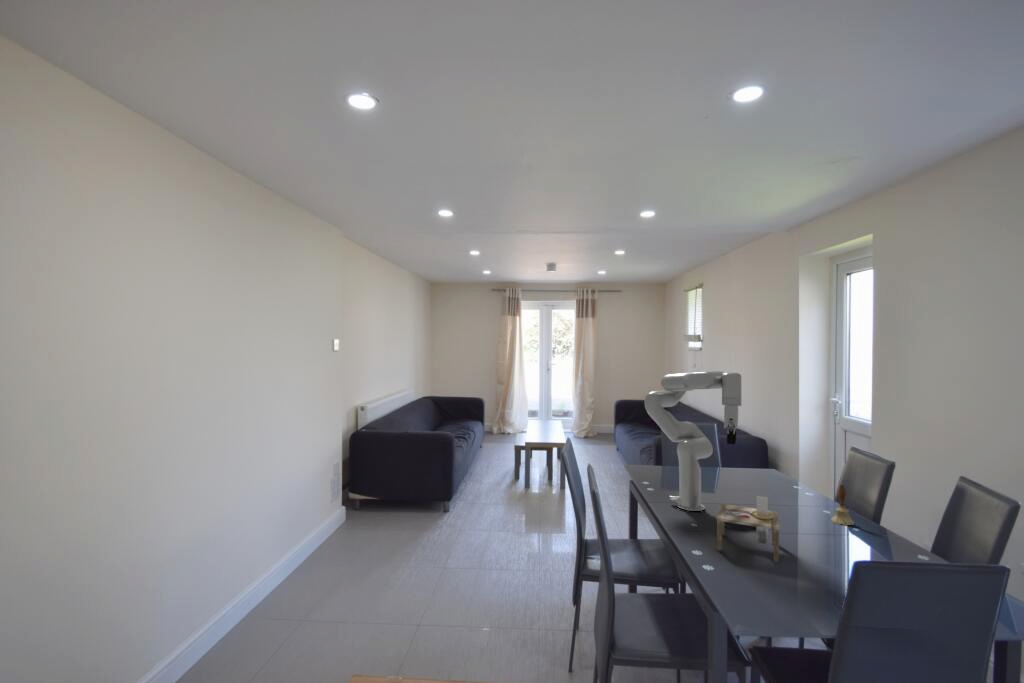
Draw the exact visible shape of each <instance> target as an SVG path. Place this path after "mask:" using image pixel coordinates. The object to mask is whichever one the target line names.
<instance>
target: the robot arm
mask: <svg viewBox="0 0 1024 683" xmlns="http://www.w3.org/2000/svg"><path fill="white" fill-rule="evenodd" d="M660 386H661V387H662V389H664V390H654V391H650V392H648V393H647V394H646V395H645V397H644V402H643V403H644V408H645V411H646V412H647V414H648V416H649V417H650V418H651V419H652V420H653V421H654V422H655V423H656V424H657V426H658V427H659V428H660V429H661V431H662V432H663V433H664V434H665V435H666V437H667V438H668V439H669V440H670V442H672V443H678V444H677V446H676V454H677V457H678V458H677V459H678V476H679V482H678V483H679V484H678V486H679V490H678V491H679V492H678V493H679V495H676V496H674V495H669V500H670V501H671V502H676V503H678V505H680V507H681V508H682V507H683V509H686V510H691V511H701V512H703V511H702V510H704V509H706V507H705V505H704V504H702V469H701V466H700V463H699V460H702V459H707V458H709V457H711V456H712V455H713V452H714V448H713V444H712V442H711V441H710V440H709V439H708V437H707V436H706V435H705V434H704V433H703V432H702V430H700V428H699V427H698V426H697V425H696V424H695V423H694V422H690V421H679V420H677V419H676V417H674V415H673V414H672V413H671V412H670V411H668V410H667V409H666V408H672V407H675V406H676V405H677V404H678V403H679V401H681V399H682V398H683V397H684V396H685V394H686V392H687V391H688V392H690V391H694V390H713V389H715V390H716V389H721V405H722V406H724V409H723V411H724V413H723V418H724V419H723V420H724V421H723V428H724V429H727V433H726V444H727V445H736V441H737V429H738V425H739V424H738V422H739V407H741V406H742V375H741V373H738V372H727V371H725V372H724V371H718V370H717V371H701V372H700V371H699V372H698V371H697V372H683V373H681V372H679V373H670V374H665V375H664V376H663V377H662V378H661V380H660ZM704 511H705V510H704Z"/></svg>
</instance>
